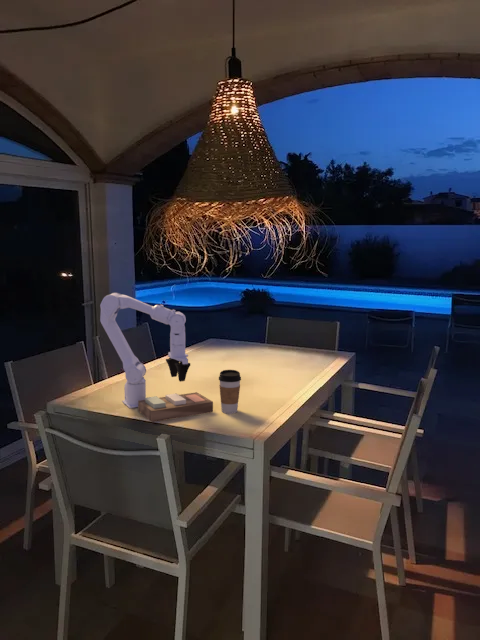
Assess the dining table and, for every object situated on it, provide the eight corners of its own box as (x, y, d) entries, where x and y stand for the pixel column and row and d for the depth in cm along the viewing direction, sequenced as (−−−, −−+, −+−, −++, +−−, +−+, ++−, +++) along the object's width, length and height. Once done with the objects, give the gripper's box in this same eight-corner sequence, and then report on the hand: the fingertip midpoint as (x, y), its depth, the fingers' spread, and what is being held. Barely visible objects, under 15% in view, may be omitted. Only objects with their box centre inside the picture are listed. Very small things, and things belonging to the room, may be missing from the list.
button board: (138, 410, 199) (138, 400, 199) (196, 402, 211) (196, 392, 210) (151, 422, 187) (151, 411, 187) (212, 412, 199) (213, 401, 198)
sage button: (145, 408, 198) (145, 397, 197) (156, 406, 200) (156, 396, 199) (154, 415, 190) (153, 404, 189) (165, 413, 192) (165, 402, 192)
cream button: (165, 405, 202) (165, 394, 201) (176, 403, 204) (176, 393, 203) (174, 411, 194) (174, 401, 193) (186, 410, 196) (186, 399, 196)
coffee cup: (240, 407, 204) (241, 369, 202) (240, 415, 196) (241, 375, 194) (218, 407, 204) (218, 369, 202) (217, 414, 196) (218, 375, 194)
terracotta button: (185, 405, 206) (185, 395, 205) (195, 404, 208) (195, 394, 207) (194, 412, 198) (194, 401, 198) (205, 410, 200) (205, 400, 200)
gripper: (195, 346, 199) (195, 381, 201) (179, 340, 212) (180, 373, 214) (178, 348, 196) (178, 384, 198) (163, 341, 208) (163, 375, 210)
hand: (177, 378), depth 206 cm, fingers open, 7 cm apart
